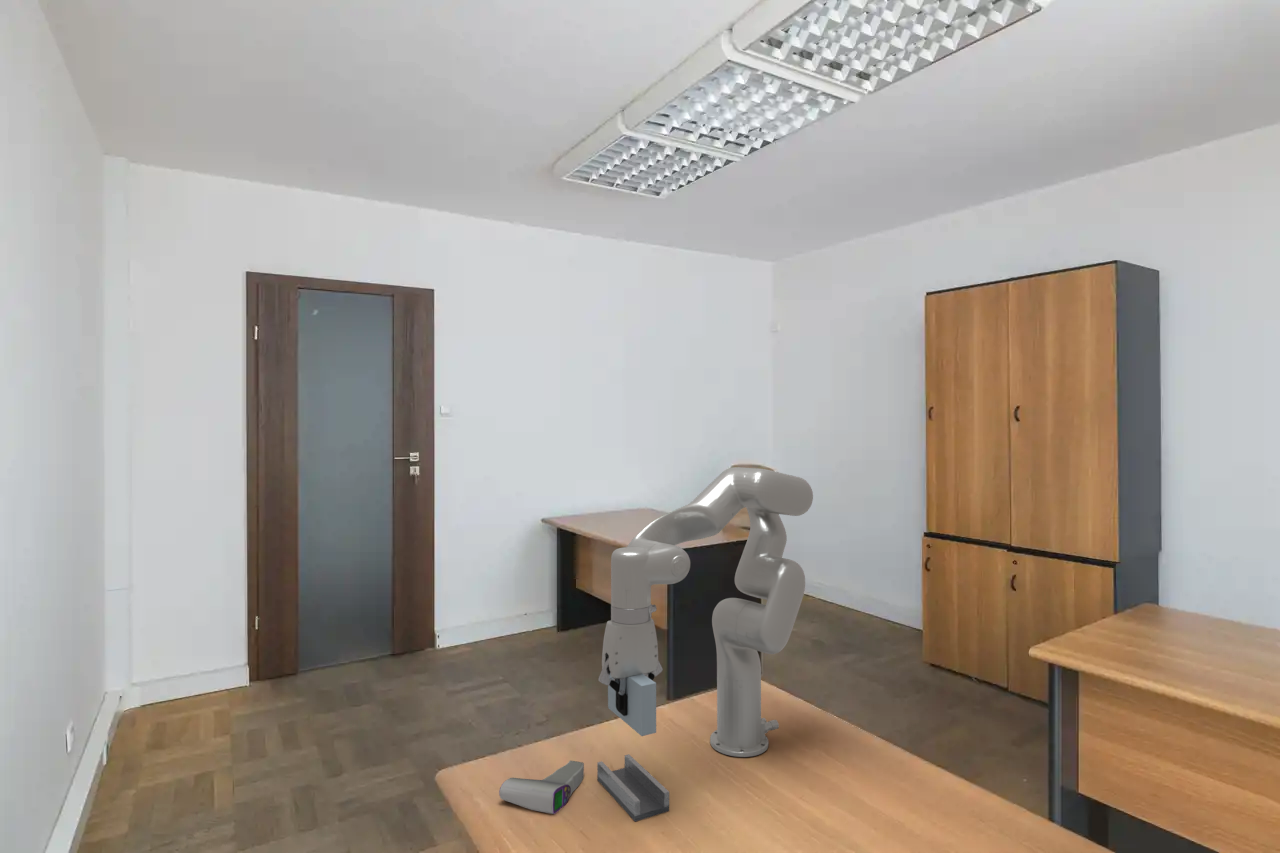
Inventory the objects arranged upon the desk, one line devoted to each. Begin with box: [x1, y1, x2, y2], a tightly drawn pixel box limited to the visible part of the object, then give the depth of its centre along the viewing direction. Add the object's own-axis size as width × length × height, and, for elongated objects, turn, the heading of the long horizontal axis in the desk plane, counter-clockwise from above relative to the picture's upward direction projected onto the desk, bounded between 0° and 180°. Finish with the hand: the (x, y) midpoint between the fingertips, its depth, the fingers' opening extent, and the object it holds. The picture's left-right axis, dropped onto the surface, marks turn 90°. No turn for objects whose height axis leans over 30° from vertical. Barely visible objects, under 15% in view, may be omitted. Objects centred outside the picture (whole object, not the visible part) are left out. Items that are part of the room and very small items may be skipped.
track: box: [596, 754, 670, 822], centre depth 130 cm, size 16×7×4 cm, turn 28°
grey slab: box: [607, 673, 657, 737], centre depth 129 cm, size 14×3×9 cm, turn 28°
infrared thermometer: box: [498, 760, 585, 815], centre depth 131 cm, size 5×12×15 cm
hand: (631, 710), depth 129 cm, fingers closed on grey slab, 3 cm apart
